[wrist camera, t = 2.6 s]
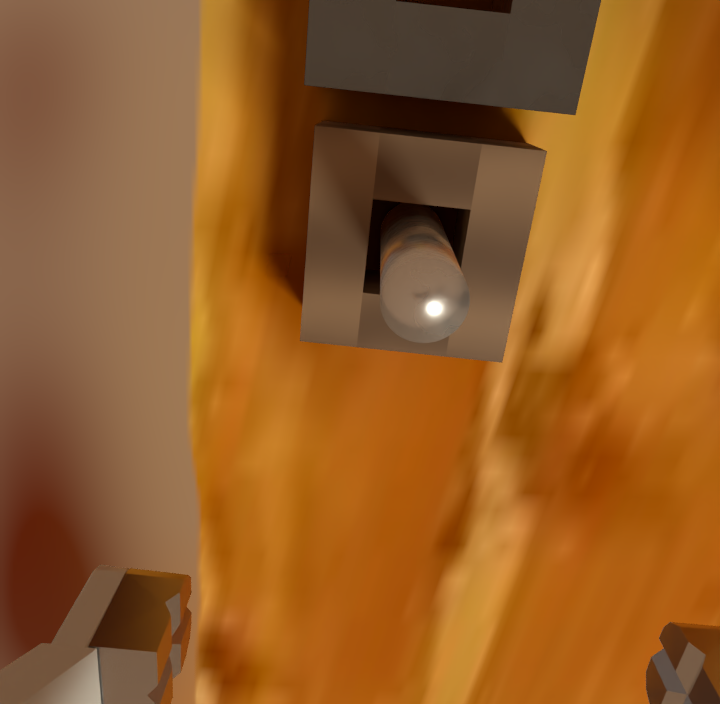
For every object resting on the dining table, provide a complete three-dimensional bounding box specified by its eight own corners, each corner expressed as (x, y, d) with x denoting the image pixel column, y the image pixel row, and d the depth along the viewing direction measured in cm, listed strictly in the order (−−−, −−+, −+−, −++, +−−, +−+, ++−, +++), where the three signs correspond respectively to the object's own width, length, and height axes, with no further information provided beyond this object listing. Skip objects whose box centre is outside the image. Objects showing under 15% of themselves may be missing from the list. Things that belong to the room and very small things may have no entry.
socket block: (322, 120, 30) (314, 125, 27) (526, 142, 30) (546, 151, 27) (308, 313, 34) (300, 340, 31) (489, 332, 34) (502, 362, 31)
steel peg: (421, 189, 31) (439, 239, 21) (453, 241, 32) (486, 313, 22) (368, 224, 32) (362, 289, 22) (402, 274, 33) (410, 358, 23)
